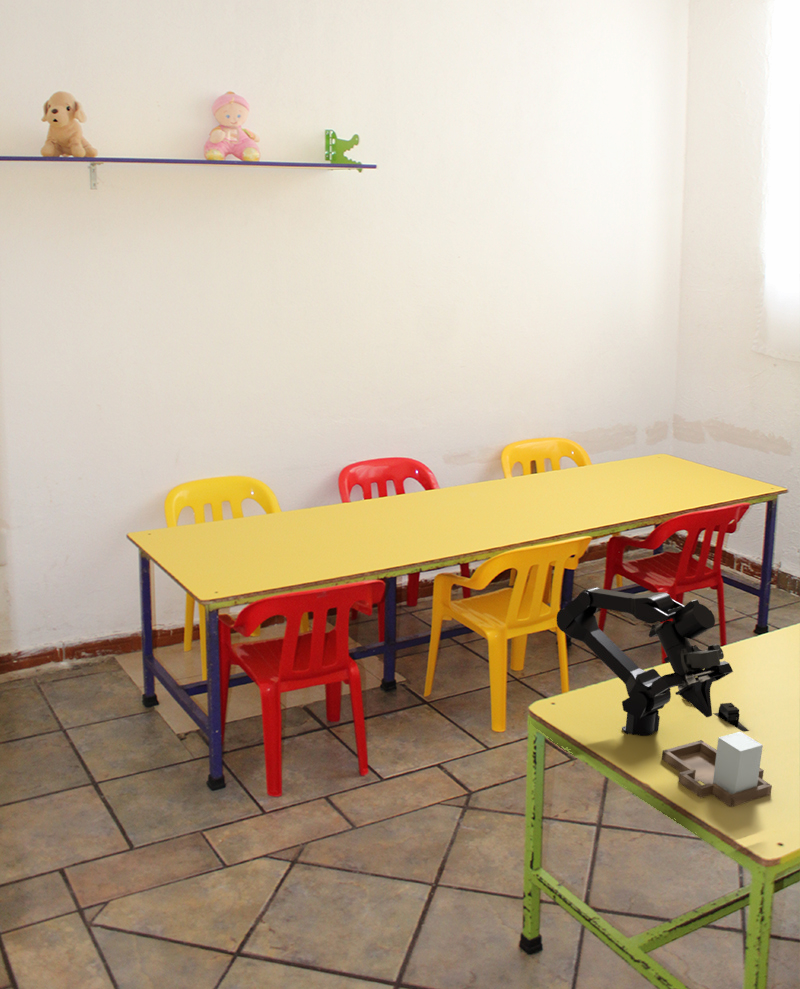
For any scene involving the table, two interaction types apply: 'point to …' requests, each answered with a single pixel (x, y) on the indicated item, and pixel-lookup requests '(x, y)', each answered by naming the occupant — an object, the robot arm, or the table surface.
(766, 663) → the table surface
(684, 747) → the brown compartment tray
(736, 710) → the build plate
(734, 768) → the block
